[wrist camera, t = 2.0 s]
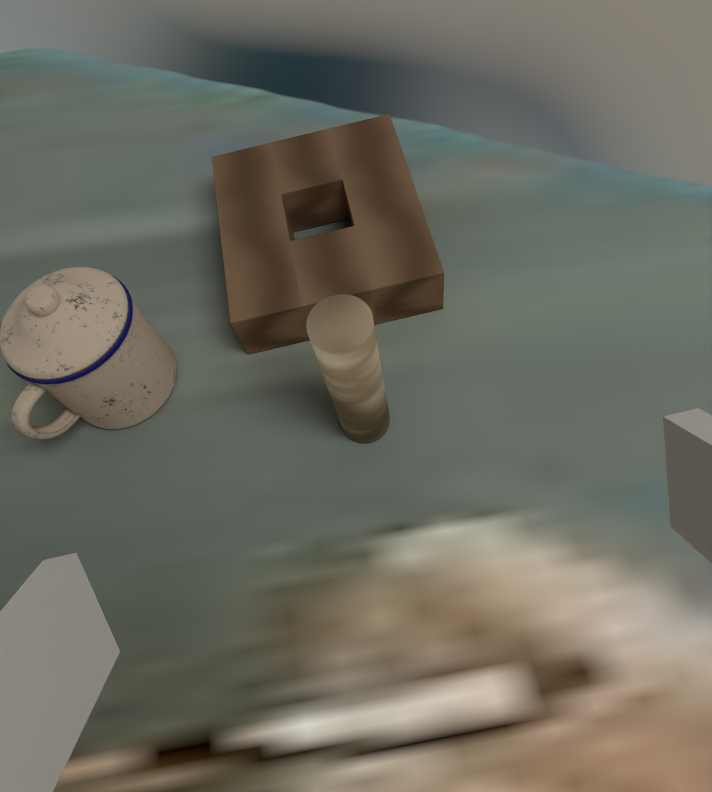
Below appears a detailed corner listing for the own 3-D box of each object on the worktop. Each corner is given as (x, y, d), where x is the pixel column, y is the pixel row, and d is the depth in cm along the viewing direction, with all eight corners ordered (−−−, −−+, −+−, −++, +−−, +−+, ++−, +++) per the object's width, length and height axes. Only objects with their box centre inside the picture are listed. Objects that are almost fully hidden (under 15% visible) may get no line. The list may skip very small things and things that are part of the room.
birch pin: (346, 448, 41) (311, 358, 29) (337, 404, 43) (301, 302, 31) (394, 437, 41) (379, 342, 29) (383, 393, 43) (365, 287, 31)
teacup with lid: (119, 319, 49) (35, 222, 38) (203, 357, 46) (136, 264, 36) (25, 436, 45) (-97, 363, 34) (111, 486, 42) (5, 423, 32)
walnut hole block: (248, 354, 46) (230, 323, 42) (228, 195, 54) (211, 157, 50) (442, 308, 45) (443, 272, 41) (392, 156, 54) (389, 114, 50)
